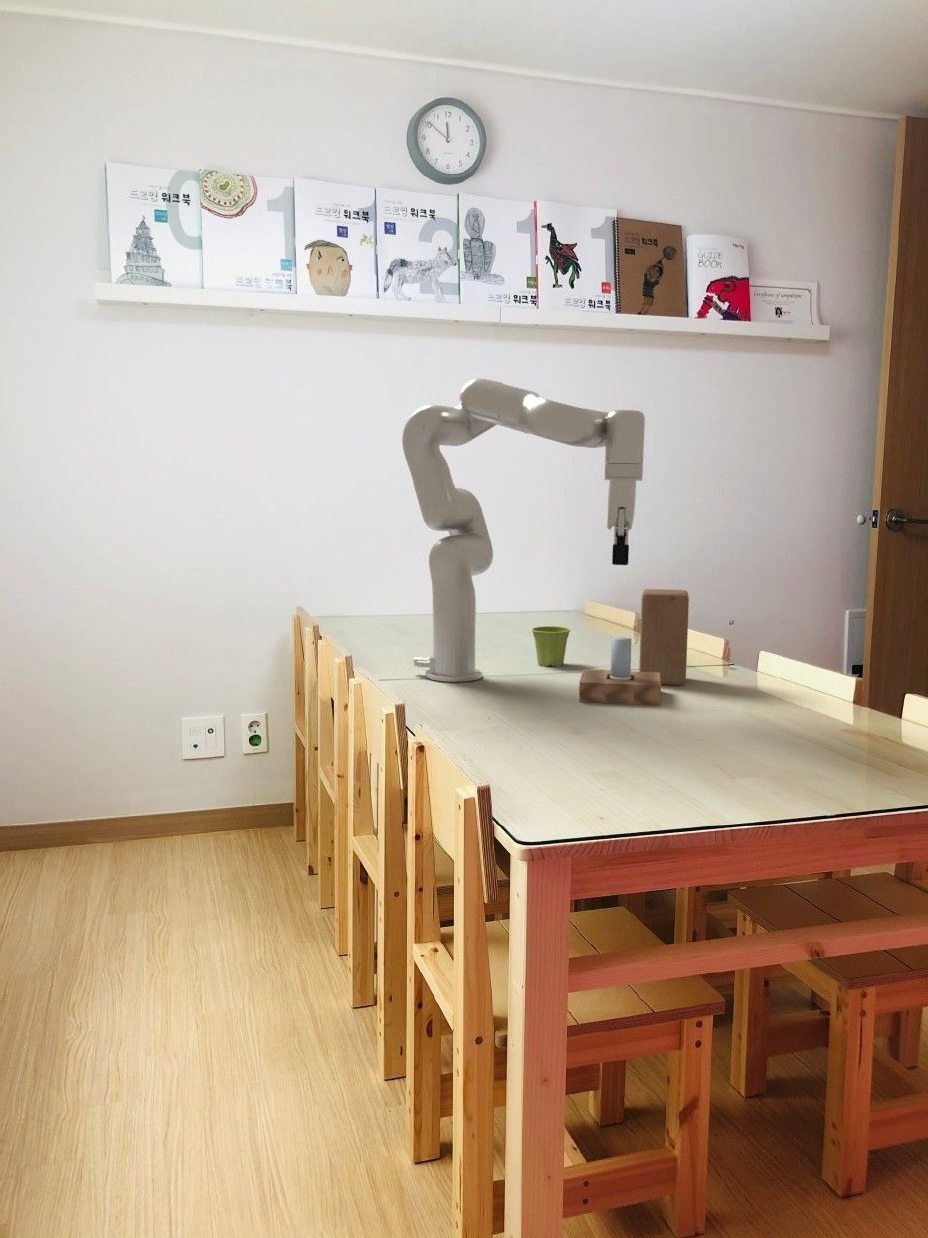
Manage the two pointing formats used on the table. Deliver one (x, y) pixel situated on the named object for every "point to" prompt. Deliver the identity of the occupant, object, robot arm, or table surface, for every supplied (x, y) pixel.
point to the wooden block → (664, 634)
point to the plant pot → (550, 644)
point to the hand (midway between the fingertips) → (620, 564)
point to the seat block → (620, 688)
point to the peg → (620, 658)
